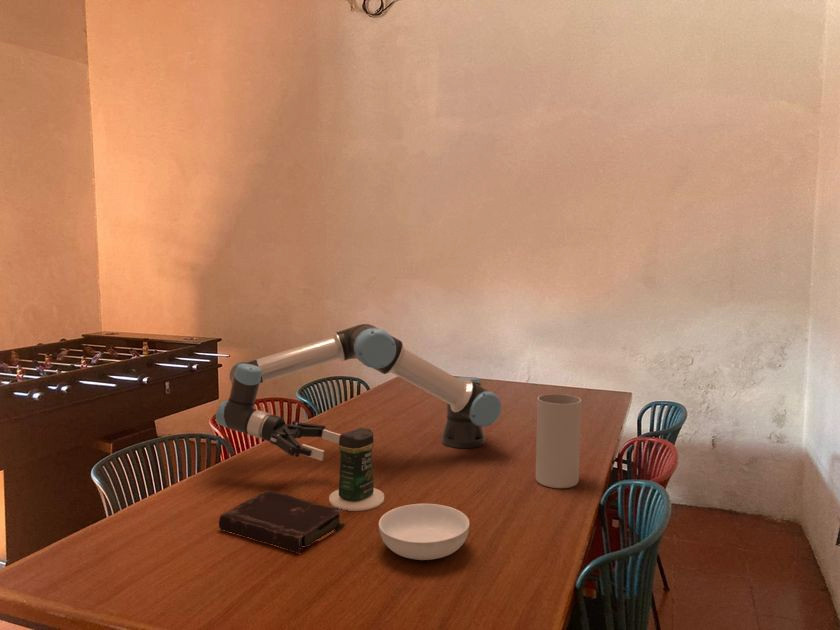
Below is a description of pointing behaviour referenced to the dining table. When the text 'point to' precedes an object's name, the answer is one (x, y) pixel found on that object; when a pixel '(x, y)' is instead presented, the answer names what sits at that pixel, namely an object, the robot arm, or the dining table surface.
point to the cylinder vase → (558, 440)
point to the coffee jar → (356, 464)
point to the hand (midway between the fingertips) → (333, 447)
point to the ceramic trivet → (361, 505)
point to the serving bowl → (424, 530)
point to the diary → (281, 520)
